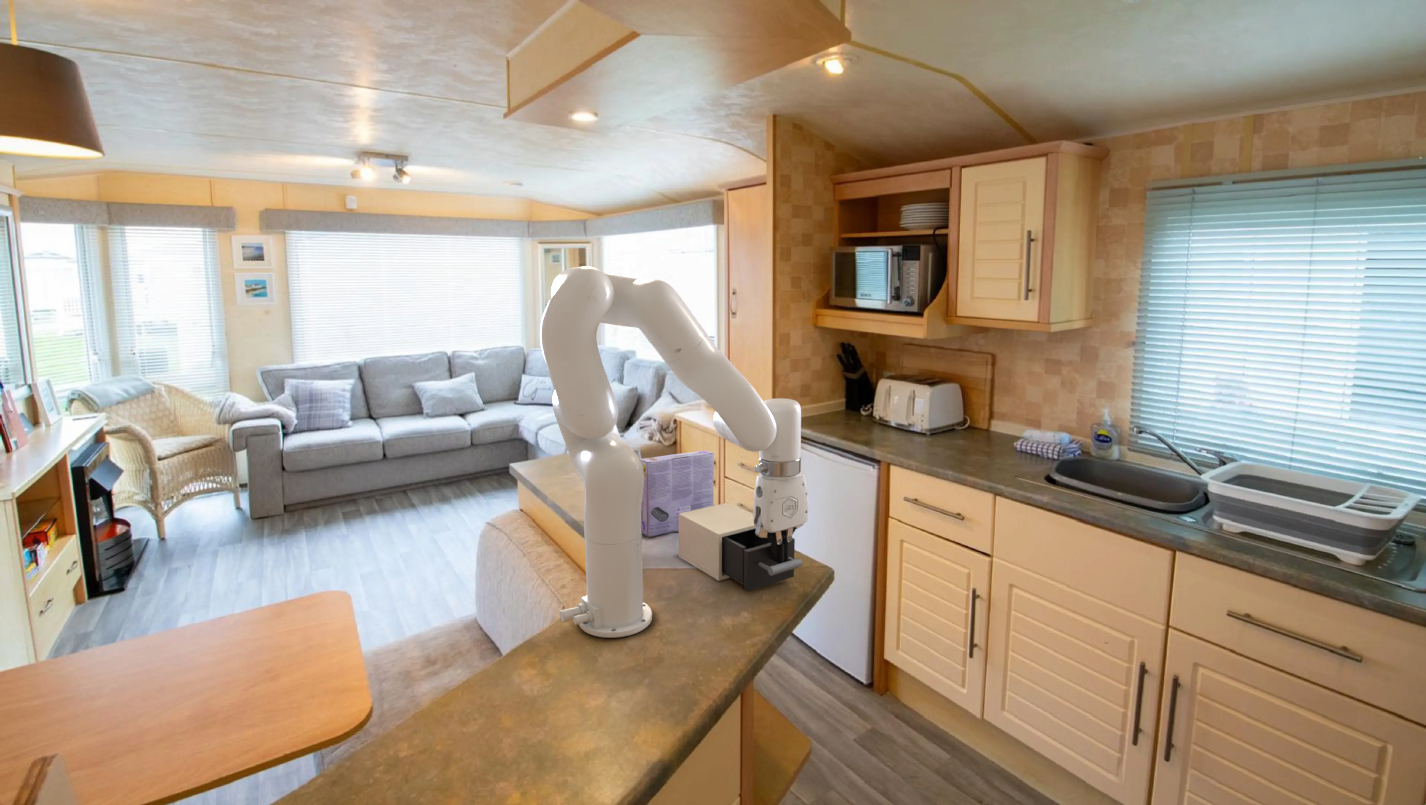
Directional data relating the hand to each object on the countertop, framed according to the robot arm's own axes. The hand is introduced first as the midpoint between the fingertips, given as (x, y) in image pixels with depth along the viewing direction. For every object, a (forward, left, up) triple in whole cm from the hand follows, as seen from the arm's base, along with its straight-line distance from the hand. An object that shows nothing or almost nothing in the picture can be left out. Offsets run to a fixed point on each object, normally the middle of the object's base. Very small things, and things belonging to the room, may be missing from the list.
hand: (779, 560), depth 130 cm
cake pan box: (+2, +39, -6) cm, 40 cm away
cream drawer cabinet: (-1, +17, -6) cm, 18 cm away
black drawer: (-1, +6, -5) cm, 8 cm away
